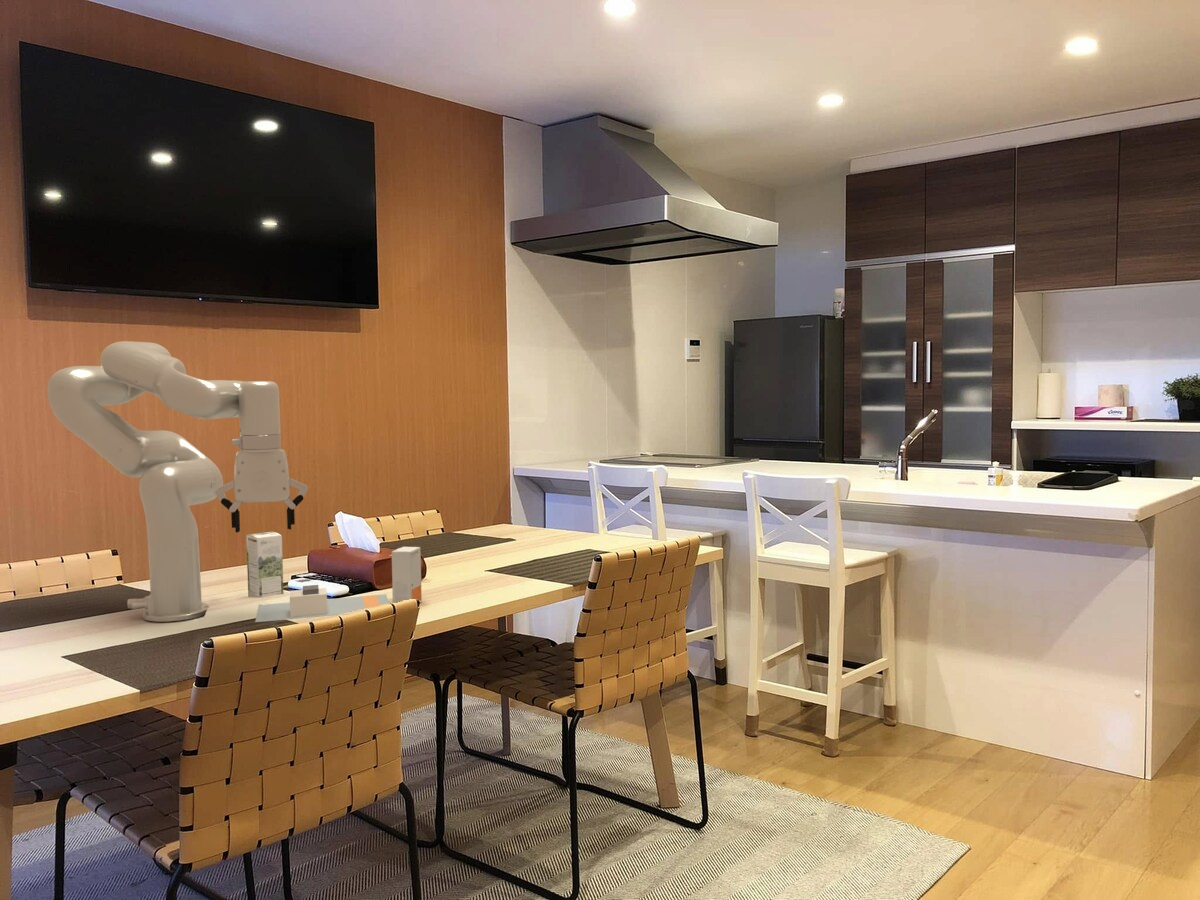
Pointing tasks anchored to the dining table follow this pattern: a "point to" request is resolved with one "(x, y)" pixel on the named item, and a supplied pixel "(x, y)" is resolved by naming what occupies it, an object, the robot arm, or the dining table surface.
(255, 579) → the syrup box
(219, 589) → the dining table surface
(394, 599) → the skincare box
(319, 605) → the beige box
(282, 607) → the board
